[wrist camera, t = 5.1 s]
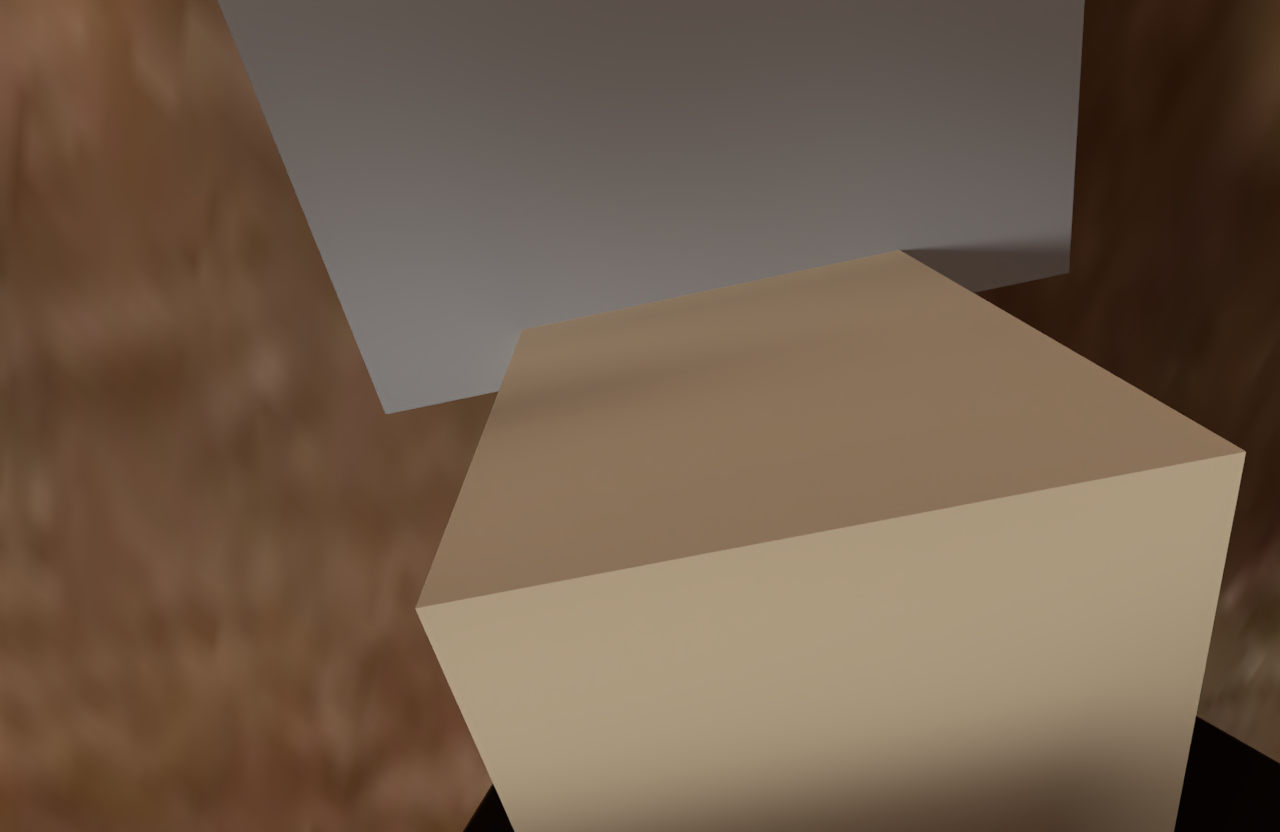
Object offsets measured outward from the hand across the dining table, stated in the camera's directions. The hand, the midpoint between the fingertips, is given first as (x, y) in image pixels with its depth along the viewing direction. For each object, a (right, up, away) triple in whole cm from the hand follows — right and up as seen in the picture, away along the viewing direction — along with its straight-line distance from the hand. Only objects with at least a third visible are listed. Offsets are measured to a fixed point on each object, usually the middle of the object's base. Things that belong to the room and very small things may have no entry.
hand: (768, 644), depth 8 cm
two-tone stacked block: (0, +2, 0) cm, 2 cm away
